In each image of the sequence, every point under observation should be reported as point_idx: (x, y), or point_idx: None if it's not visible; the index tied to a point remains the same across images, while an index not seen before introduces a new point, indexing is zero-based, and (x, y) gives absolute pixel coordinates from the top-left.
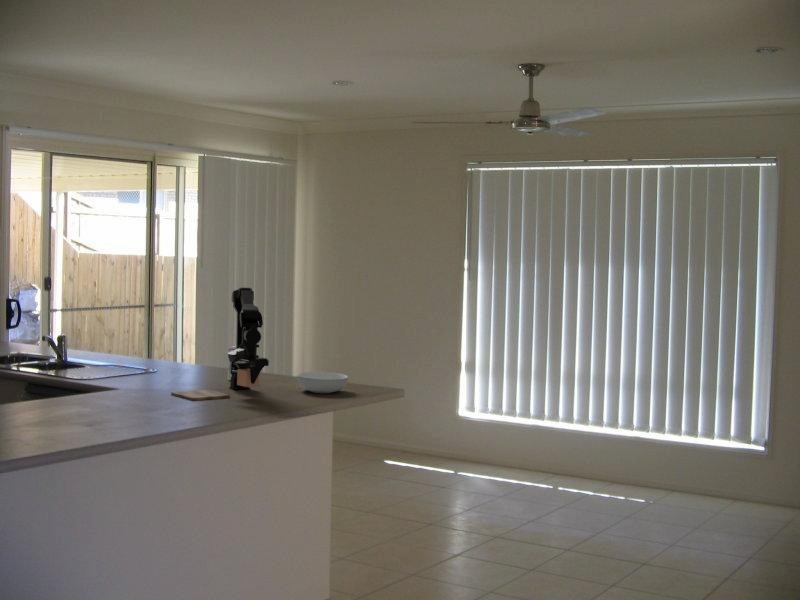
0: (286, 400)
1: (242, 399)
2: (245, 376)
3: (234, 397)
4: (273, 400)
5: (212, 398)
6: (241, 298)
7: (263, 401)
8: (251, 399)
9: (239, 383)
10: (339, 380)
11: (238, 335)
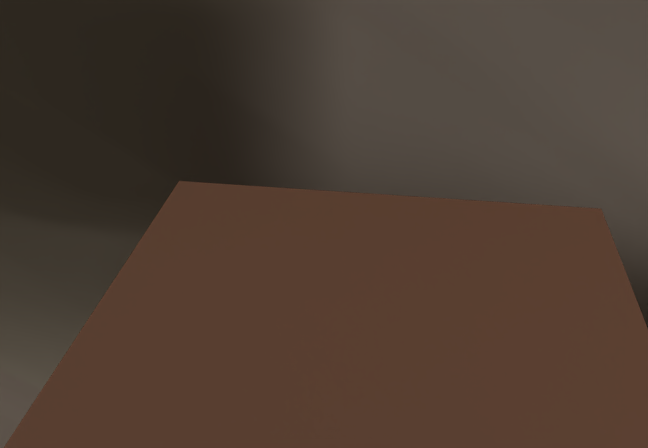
0: (43, 381)
1: (278, 19)
2: (72, 399)
3: (556, 22)
4: (68, 301)
5: None
6: None
7: (12, 175)
8: (222, 143)
9: (478, 232)
10: None
11: None
